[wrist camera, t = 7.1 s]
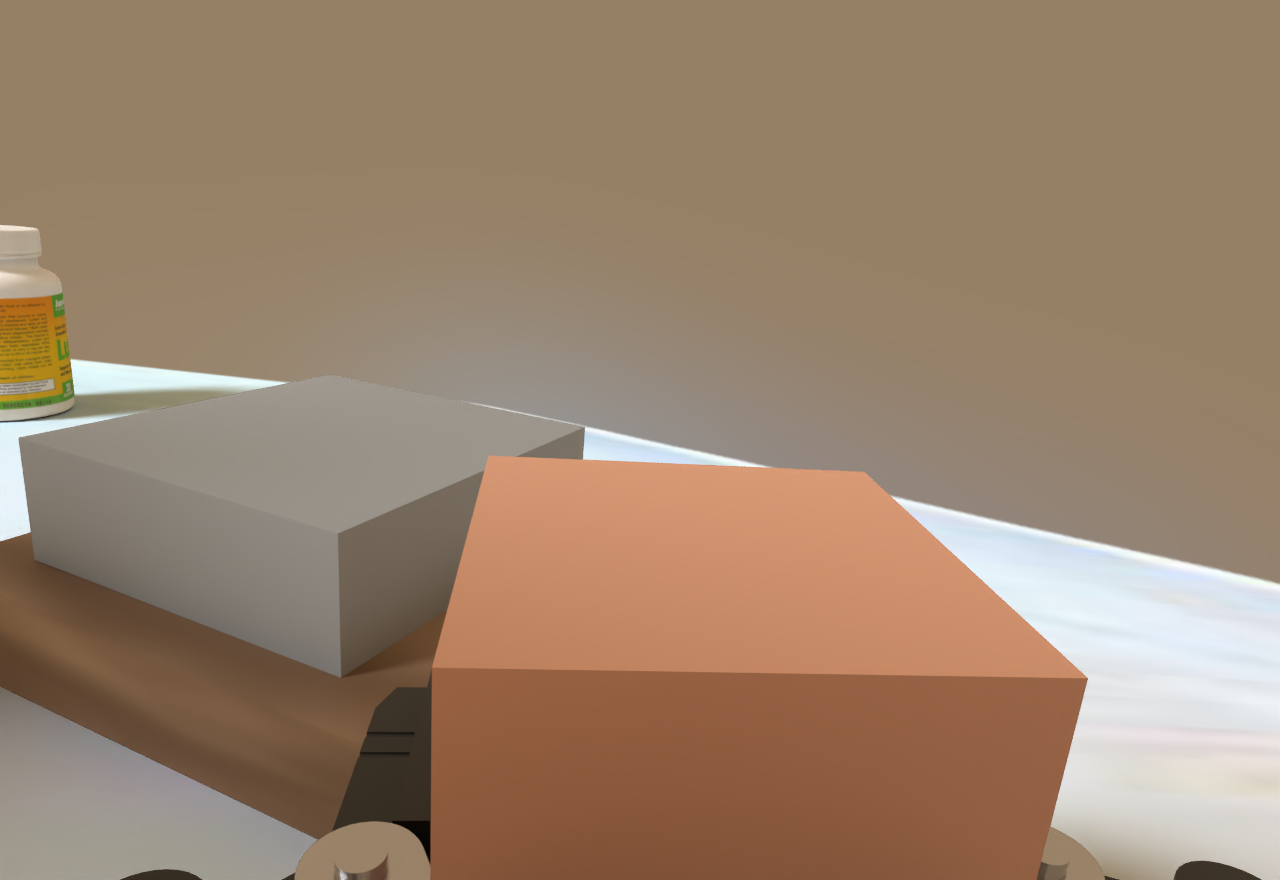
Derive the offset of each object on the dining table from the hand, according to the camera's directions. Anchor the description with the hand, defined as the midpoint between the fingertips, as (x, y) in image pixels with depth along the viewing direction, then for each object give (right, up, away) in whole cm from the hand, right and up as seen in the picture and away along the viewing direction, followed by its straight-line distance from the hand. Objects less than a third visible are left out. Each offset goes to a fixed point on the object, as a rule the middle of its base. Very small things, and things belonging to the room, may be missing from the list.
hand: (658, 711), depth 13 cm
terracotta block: (0, -7, -1) cm, 7 cm away
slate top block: (-10, +1, +13) cm, 16 cm away
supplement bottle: (-34, +6, +33) cm, 48 cm away
